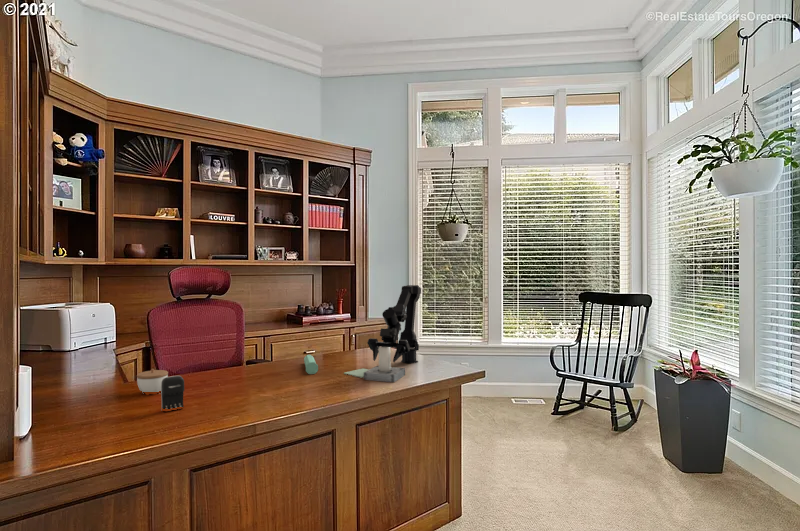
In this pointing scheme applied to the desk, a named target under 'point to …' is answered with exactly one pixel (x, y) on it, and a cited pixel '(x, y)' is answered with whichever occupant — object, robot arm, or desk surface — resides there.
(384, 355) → the end plug
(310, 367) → the green faceted rod
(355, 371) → the felt pad
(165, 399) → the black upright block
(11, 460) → the desk surface
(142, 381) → the lidded jar
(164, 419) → the desk surface
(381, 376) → the flange
